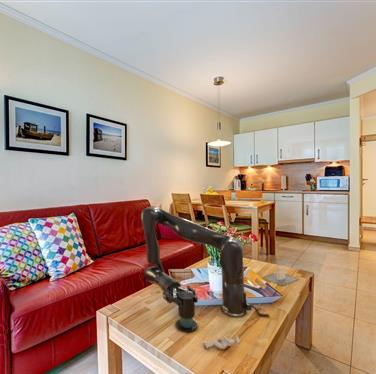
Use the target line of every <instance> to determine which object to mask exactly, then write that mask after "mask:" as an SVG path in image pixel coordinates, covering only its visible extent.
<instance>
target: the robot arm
mask: <svg viewBox="0 0 376 374" xmlns="http://www.w3.org/2000/svg"><path fill="white" fill-rule="evenodd" d="M140 220H141V224H142V228H143V232H144V240H145V246H146V247H145V248H146V249H145V250H146V261H147V263H148V264H151V265H154V266H149V267H146V269H144V273H143V275H144V278H145V279H146V281H147V282H149V283H151V284H153V285H156V286H158V288H160V290H161V291H162V299H164V300H165V301H166V302H167V303H168V304H172V303H173V304H175V305H176V306H177V307H178V306H180V307H182V301H181V300H180V299H178V293H180V292H183V291H187V292H191V293H193V294H194V301H195V303H196V304H197V303H198V302H199V300H198V299H199V298H198V297H199V296H197V294H196V293H197V291H196V290H195V289H194V288H192V287H191V286H190V285H187V286H186V287H183V286H182V285H181V284H180V282H179V281H177V280H176V279H175V278H173V277H172V276H170V275H168V274H167V273H165V270H164V266H163V265H162V261H161V249H160V245H159V242H158V238H157V235H156V224H158V225H162V226H164V227H166V228H169V229H170V230H171V231H172V232H173V233H174V234H176V235H177V236H178V237H180V238H182V239H184V240H187V241H188V242H192V243H196V244H200V245H206V246H210V247H213V248H216V249H217V250H219V254H220V268H221V285H222V286H221V289H222V293H221V294H222V305H221V306H222V312H223V313H224V314H226V315H228V316H230V317H237V318H238V317H239V318H241V317H243V316H244V315H247V311H249V312H251V311H252V308H253V309H254V310H255V313H256V314H257V315H258V316H260V317H269V316H270V314H269V313H260V312H259V310H258V309H257V307H255V306H254V305H252V304H251V303H250V302H249V301H248V300H247V293H246V291H245V272H244V244H243V242H242V241H241V240H240V239H239V238H237V237H235V236H234V237H233V236H231V235H227V234H223V233H219V232H217V231H214V230H212V229H210V228H208V227H205V226H203V225H201V224H198V223H196V222H194V221H191V220H188V219H185V218H183V217H181V216H177V215H174V214H172V213H170V212H168V211H166V210H164V209H162V208H161V207H158V206H155V205H151V206H148V207H146V208H144V209H143V210H142V211H141V213H140Z"/></svg>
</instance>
